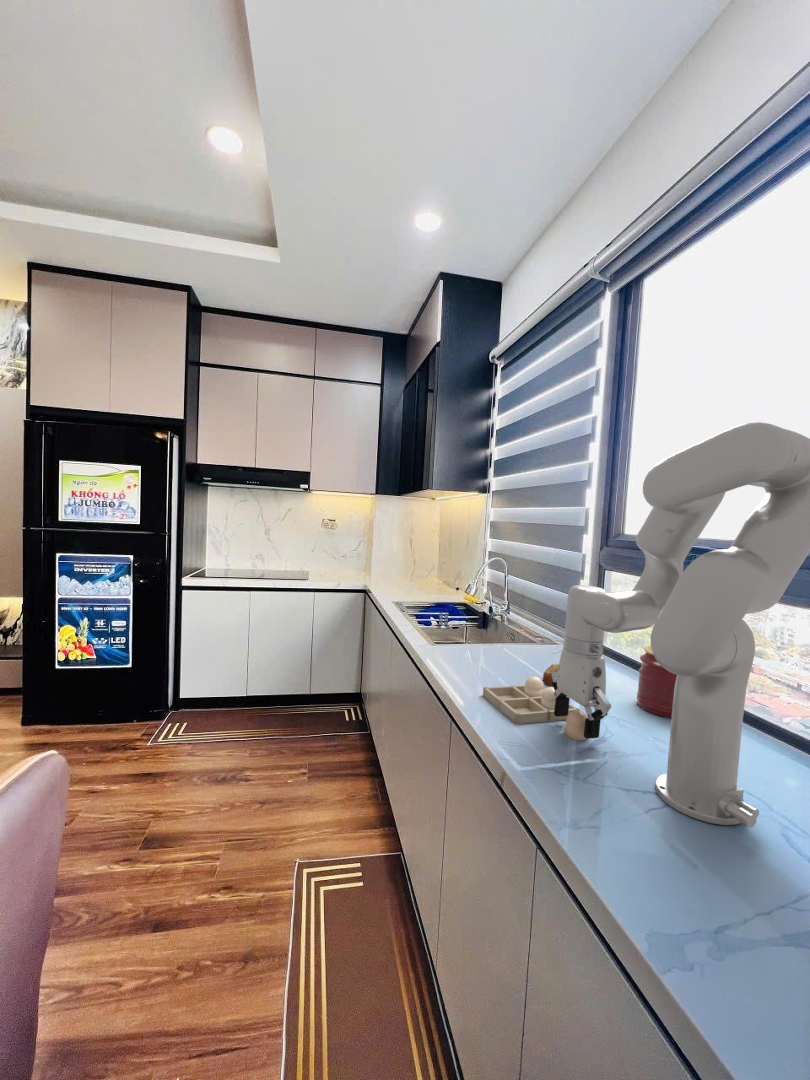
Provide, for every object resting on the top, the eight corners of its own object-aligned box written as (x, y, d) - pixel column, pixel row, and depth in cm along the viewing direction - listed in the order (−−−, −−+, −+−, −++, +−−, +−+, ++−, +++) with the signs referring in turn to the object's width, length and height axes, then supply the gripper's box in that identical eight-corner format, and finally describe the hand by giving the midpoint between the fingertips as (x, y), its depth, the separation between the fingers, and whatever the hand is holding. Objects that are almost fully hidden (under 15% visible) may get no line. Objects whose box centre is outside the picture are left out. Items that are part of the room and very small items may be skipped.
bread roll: (576, 696, 129) (575, 667, 132) (587, 693, 119) (585, 662, 122) (540, 693, 130) (539, 664, 133) (548, 690, 120) (547, 659, 123)
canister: (643, 715, 109) (649, 642, 108) (630, 695, 122) (635, 630, 121) (705, 724, 106) (711, 649, 105) (685, 703, 119) (690, 635, 118)
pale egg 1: (546, 702, 112) (548, 679, 112) (530, 703, 111) (532, 680, 110) (536, 695, 116) (537, 673, 116) (520, 696, 115) (521, 674, 115)
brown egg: (593, 742, 94) (595, 715, 94) (574, 744, 93) (576, 716, 92) (578, 732, 98) (580, 706, 98) (560, 733, 97) (562, 707, 97)
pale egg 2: (565, 715, 105) (567, 690, 105) (548, 716, 104) (549, 691, 104) (553, 706, 110) (555, 683, 109) (536, 708, 108) (538, 684, 108)
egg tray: (578, 720, 104) (579, 709, 104) (516, 726, 99) (517, 714, 99) (538, 693, 119) (539, 684, 119) (482, 697, 114) (483, 687, 114)
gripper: (629, 658, 87) (620, 745, 89) (571, 633, 104) (564, 707, 105) (596, 660, 85) (588, 749, 86) (542, 634, 102) (536, 709, 103)
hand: (575, 726), depth 96 cm, fingers open, 9 cm apart
